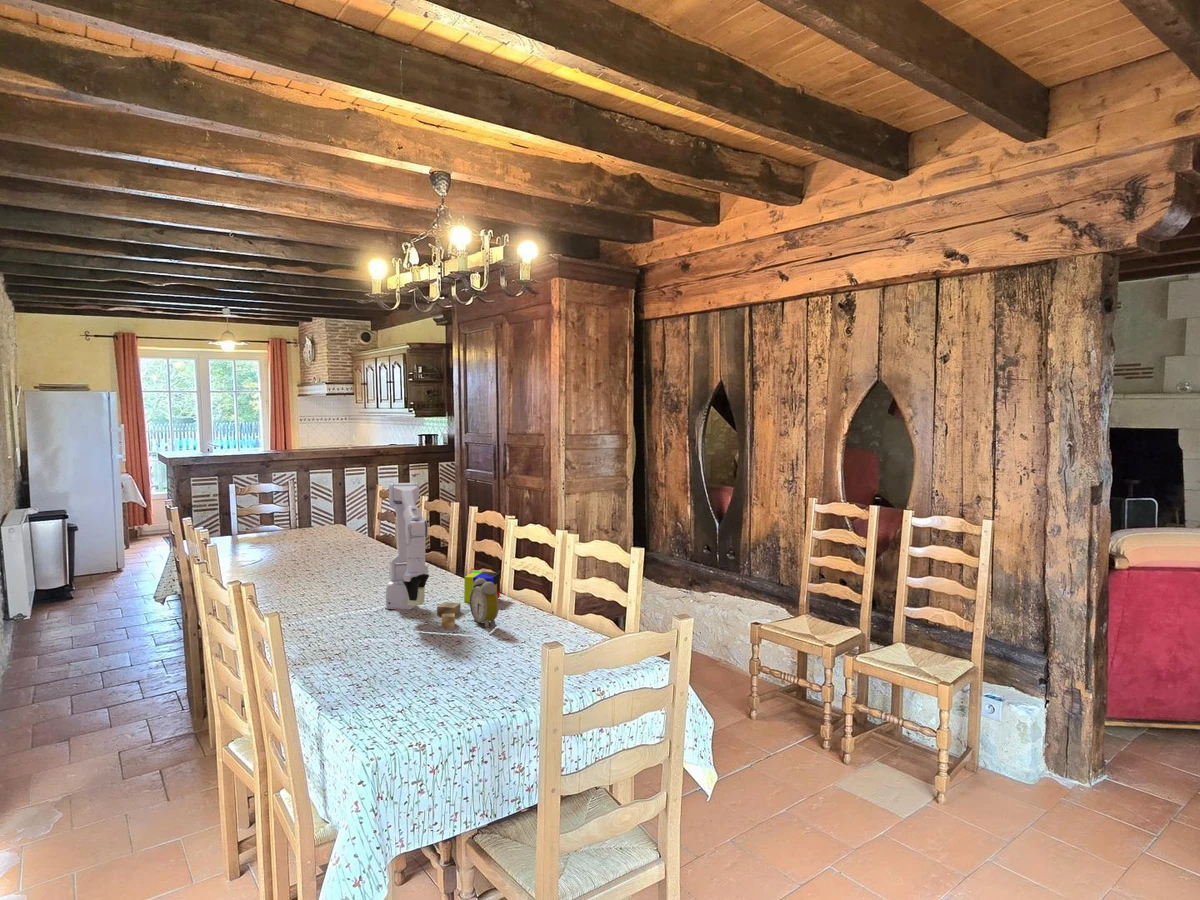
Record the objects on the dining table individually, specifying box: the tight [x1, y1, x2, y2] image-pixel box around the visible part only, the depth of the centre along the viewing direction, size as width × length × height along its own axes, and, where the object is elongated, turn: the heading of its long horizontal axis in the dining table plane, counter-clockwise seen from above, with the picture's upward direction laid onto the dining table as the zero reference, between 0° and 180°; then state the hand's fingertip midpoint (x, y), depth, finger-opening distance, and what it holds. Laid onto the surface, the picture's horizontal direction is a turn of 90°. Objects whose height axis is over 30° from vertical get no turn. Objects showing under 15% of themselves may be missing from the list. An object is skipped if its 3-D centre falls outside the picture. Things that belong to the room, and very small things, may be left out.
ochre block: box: [441, 614, 456, 629], centre depth 228 cm, size 4×4×4 cm
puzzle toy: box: [463, 570, 501, 604], centre depth 260 cm, size 10×10×10 cm
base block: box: [436, 601, 461, 616], centre depth 241 cm, size 6×6×3 cm
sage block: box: [408, 586, 426, 607], centre depth 231 cm, size 4×4×5 cm
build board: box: [425, 608, 471, 621], centre depth 241 cm, size 12×12×1 cm
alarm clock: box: [469, 578, 500, 629], centre depth 231 cm, size 12×7×15 cm, turn 35°
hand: (415, 598), depth 232 cm, fingers closed on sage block, 4 cm apart
